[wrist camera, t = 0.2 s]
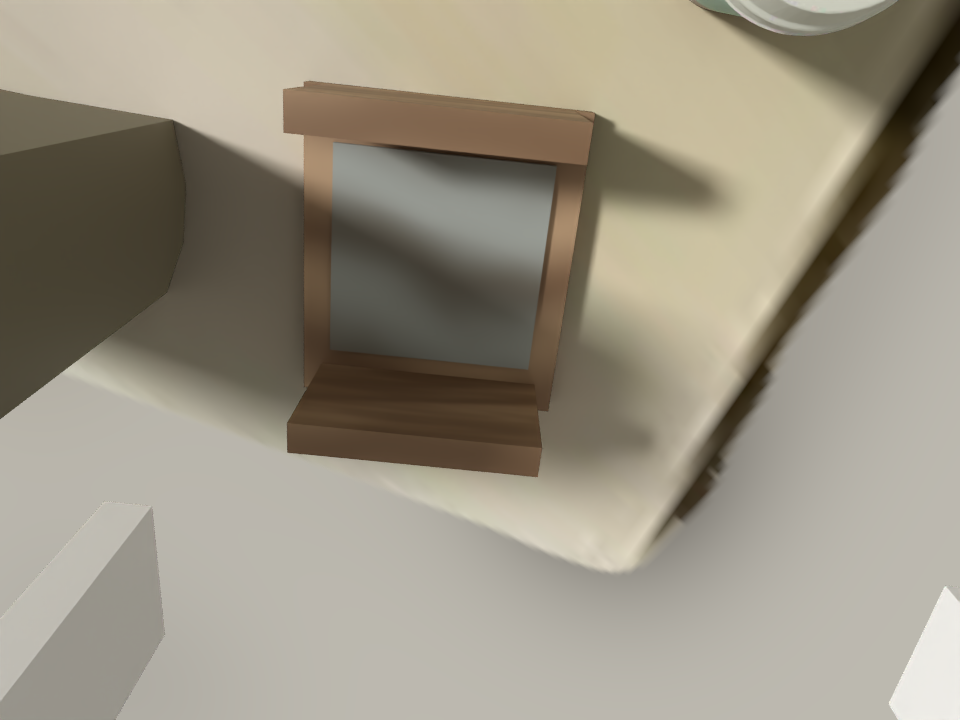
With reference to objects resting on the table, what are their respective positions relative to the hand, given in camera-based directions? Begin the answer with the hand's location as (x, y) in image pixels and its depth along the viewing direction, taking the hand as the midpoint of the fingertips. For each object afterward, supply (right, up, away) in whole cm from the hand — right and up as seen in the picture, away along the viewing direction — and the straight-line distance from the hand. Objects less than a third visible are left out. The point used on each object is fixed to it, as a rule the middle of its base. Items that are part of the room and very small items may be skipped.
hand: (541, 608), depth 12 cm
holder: (-3, +10, +26) cm, 28 cm away
